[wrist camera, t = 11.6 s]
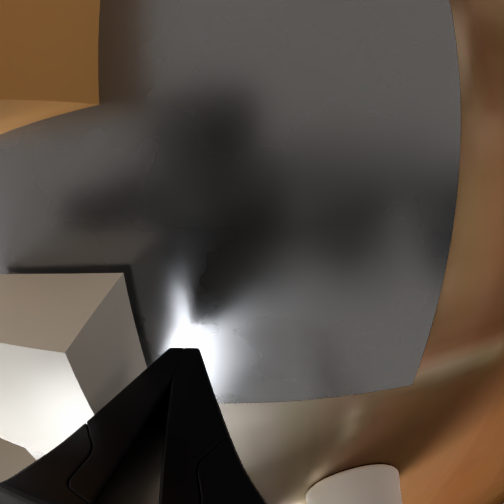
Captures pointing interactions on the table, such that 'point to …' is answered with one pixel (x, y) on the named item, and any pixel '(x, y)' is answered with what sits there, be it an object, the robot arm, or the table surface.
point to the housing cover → (62, 353)
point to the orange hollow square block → (47, 59)
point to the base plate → (256, 186)
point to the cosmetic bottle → (358, 487)
